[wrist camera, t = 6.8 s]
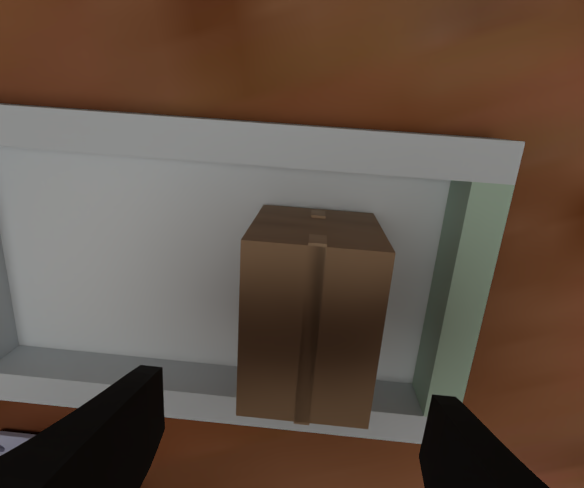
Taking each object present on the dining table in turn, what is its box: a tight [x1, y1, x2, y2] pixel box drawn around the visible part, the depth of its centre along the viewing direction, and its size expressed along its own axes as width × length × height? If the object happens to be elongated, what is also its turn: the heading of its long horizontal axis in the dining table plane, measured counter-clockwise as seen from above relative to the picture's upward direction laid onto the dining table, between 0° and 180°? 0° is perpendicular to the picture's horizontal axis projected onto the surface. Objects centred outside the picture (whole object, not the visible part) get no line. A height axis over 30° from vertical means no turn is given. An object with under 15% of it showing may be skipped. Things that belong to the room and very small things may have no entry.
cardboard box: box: [236, 205, 396, 429], centre depth 16 cm, size 7×5×6 cm
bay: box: [0, 103, 525, 444], centre depth 19 cm, size 14×25×3 cm, turn 86°
